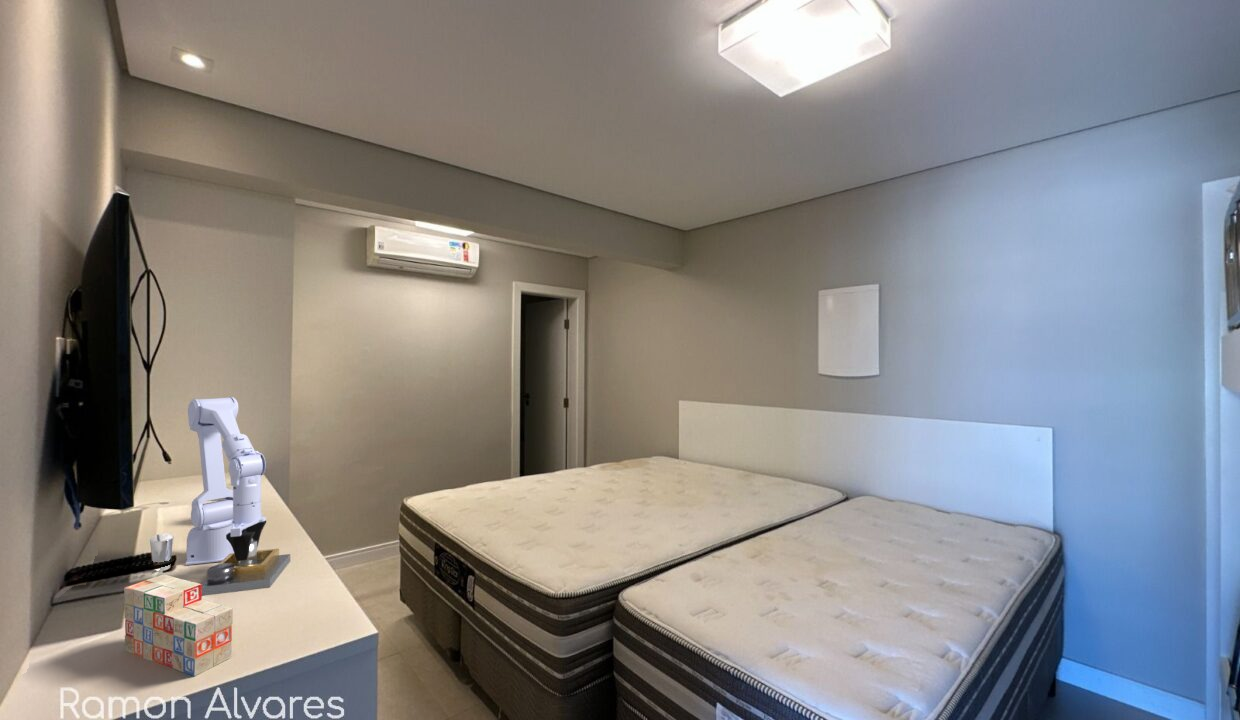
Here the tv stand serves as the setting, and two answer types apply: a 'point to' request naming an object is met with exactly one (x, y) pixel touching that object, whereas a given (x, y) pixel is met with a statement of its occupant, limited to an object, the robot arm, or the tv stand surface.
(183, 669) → the stack of blocks
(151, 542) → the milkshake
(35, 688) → the tv stand surface
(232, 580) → the grey piece
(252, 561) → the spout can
